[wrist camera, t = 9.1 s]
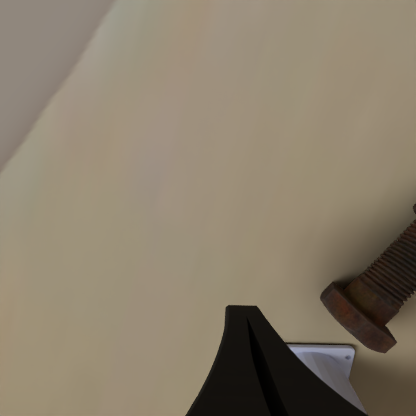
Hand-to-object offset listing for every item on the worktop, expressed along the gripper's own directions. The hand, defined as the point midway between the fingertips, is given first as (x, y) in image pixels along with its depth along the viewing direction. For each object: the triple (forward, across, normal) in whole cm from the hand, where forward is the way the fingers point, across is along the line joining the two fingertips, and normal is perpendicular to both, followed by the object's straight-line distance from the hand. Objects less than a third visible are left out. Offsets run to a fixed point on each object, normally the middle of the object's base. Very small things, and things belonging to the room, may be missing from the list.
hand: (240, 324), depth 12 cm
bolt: (+10, -14, 0) cm, 17 cm away
